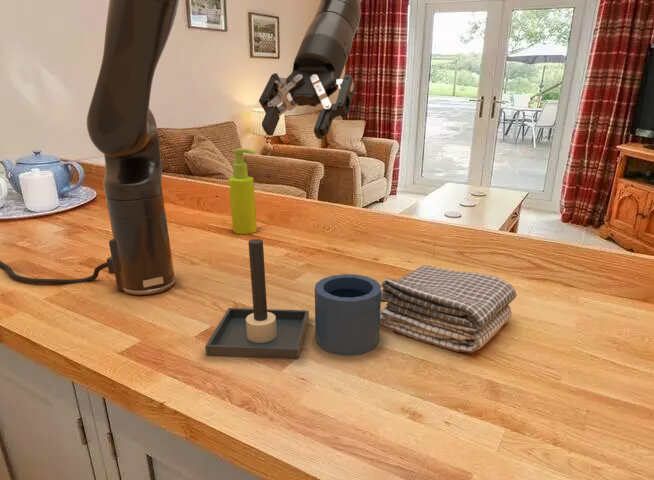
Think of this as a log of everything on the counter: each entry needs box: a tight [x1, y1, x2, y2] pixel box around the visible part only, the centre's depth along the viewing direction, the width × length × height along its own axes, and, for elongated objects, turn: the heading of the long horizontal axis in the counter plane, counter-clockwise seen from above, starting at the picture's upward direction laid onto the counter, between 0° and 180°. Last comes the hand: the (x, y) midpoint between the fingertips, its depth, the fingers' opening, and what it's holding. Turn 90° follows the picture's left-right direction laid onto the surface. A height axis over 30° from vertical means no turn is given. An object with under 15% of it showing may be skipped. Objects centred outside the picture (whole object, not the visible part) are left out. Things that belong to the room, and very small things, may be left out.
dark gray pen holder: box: [314, 273, 382, 357], centre depth 72 cm, size 9×9×9 cm
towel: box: [380, 265, 517, 353], centre depth 78 cm, size 15×18×8 cm
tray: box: [205, 307, 310, 360], centre depth 74 cm, size 13×12×2 cm
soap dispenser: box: [228, 148, 258, 235], centre depth 119 cm, size 6×7×20 cm
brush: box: [246, 238, 277, 343], centre depth 71 cm, size 4×4×15 cm
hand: (292, 133), depth 73 cm, fingers open, 8 cm apart
